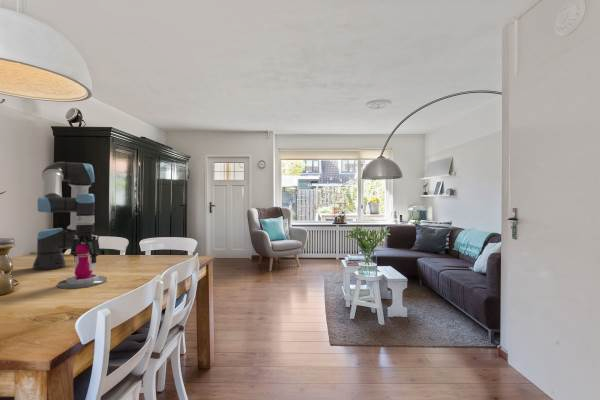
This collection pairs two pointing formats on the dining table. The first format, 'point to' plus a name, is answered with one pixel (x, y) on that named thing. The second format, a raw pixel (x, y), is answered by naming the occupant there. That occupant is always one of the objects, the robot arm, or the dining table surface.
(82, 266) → the pepper mill
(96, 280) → the ring seat
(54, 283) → the dining table surface
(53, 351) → the dining table surface
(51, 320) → the dining table surface
